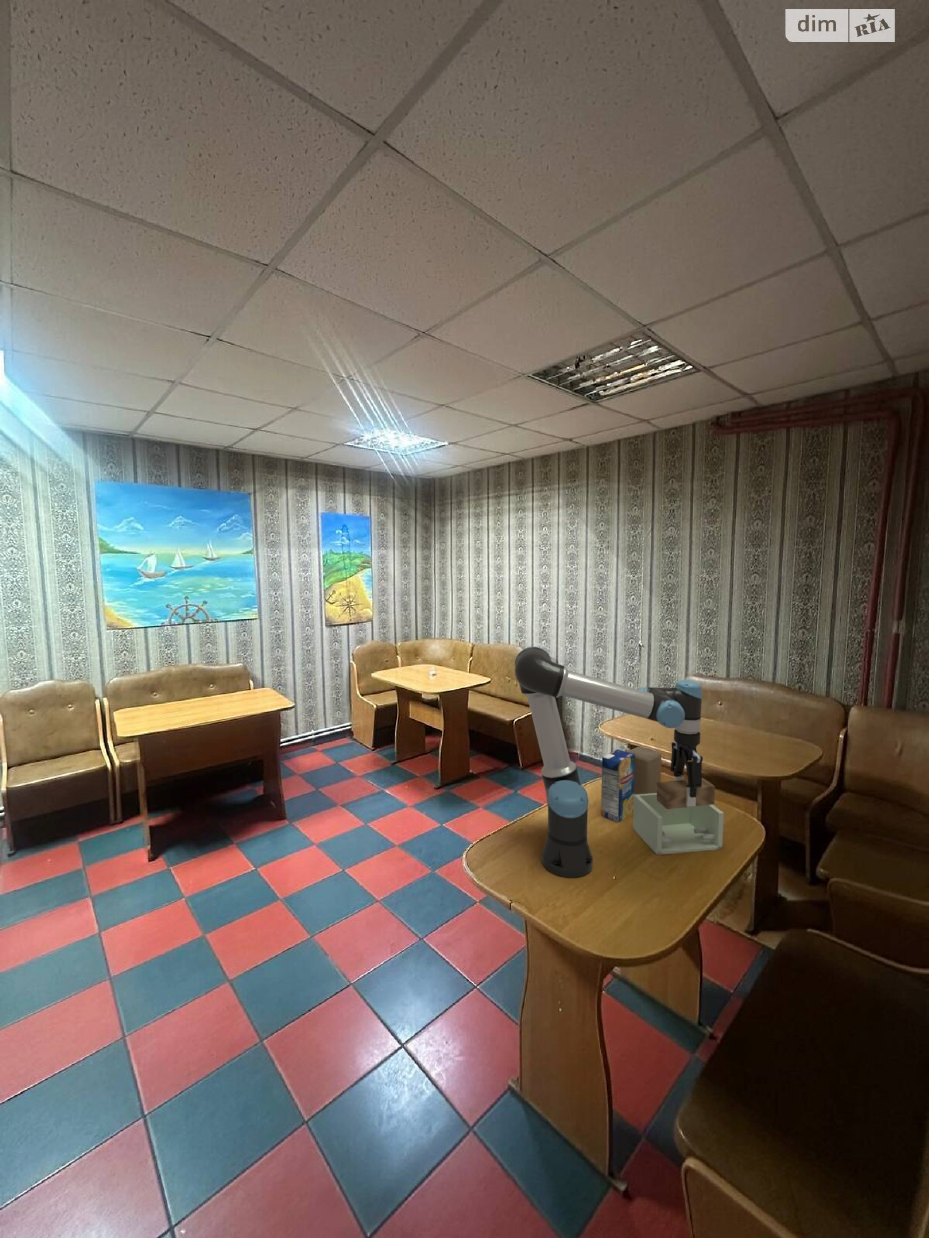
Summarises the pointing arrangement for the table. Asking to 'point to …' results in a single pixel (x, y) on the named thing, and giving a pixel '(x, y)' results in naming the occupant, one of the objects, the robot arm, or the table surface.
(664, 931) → the table surface
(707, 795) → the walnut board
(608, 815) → the beverage box
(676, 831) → the open storage box
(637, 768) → the wooden block
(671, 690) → the robot arm
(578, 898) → the table surface
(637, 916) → the table surface
